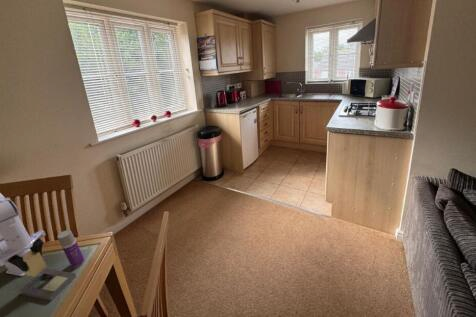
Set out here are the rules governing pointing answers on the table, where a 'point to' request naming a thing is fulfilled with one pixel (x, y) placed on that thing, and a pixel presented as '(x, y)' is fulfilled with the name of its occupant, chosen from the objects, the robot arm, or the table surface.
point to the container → (71, 248)
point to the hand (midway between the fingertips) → (32, 264)
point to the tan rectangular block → (33, 263)
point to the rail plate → (48, 284)
